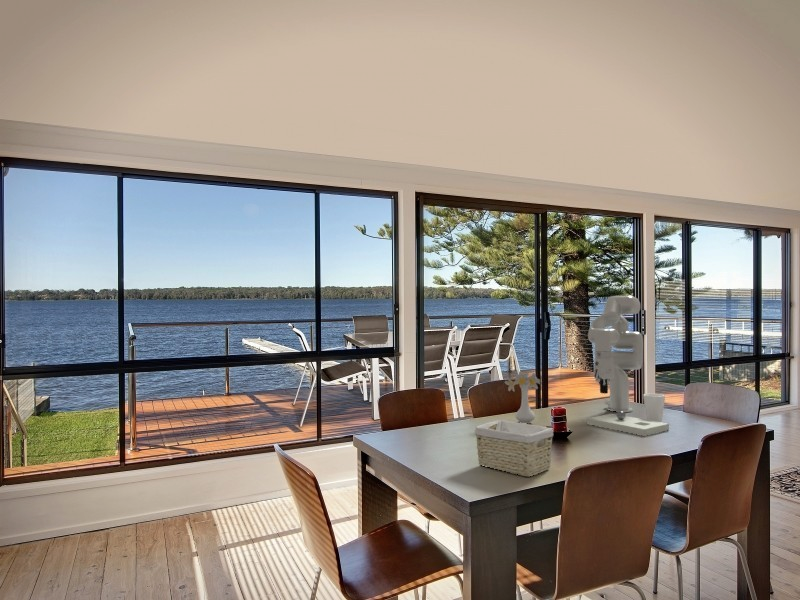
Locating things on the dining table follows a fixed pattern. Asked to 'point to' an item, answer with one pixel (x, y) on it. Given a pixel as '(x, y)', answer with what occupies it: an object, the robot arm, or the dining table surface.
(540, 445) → the storage basket
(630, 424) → the hole board
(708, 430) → the dining table surface
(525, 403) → the flower vase
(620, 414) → the steel ball
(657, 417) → the foam cup
